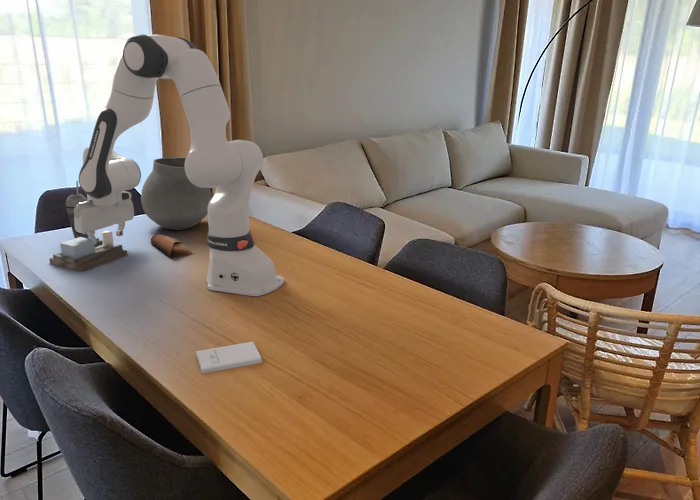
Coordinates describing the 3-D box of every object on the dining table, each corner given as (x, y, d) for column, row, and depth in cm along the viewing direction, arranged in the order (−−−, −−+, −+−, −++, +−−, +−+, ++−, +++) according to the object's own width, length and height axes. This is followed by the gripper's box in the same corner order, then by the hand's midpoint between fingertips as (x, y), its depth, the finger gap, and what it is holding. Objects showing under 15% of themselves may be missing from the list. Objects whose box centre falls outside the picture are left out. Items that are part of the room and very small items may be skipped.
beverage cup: (78, 234, 199) (70, 178, 192) (97, 235, 198) (90, 179, 191) (65, 240, 192) (56, 182, 185) (85, 241, 191) (77, 183, 184)
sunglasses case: (196, 253, 182) (185, 238, 178) (179, 268, 179) (167, 253, 176) (174, 239, 195) (163, 225, 191) (158, 252, 193) (146, 238, 189)
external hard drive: (262, 365, 119) (201, 375, 114) (253, 347, 126) (196, 356, 122) (261, 358, 118) (201, 368, 114) (252, 340, 126) (195, 349, 121)
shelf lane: (127, 255, 179) (126, 246, 178) (81, 271, 165) (80, 262, 164) (97, 247, 185) (95, 239, 184) (50, 263, 171) (48, 253, 170)
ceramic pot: (175, 241, 193) (169, 169, 185) (130, 228, 206) (122, 160, 198) (226, 225, 213) (223, 159, 205) (182, 214, 225) (177, 152, 217)
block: (119, 247, 181) (117, 232, 179) (76, 262, 167) (73, 246, 166) (106, 244, 184) (104, 229, 182) (62, 258, 170) (60, 243, 168)
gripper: (80, 205, 166) (86, 250, 170) (135, 192, 183) (139, 233, 187) (66, 202, 168) (72, 246, 173) (121, 189, 185) (125, 230, 190)
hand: (107, 239), depth 180 cm, fingers open, 8 cm apart
